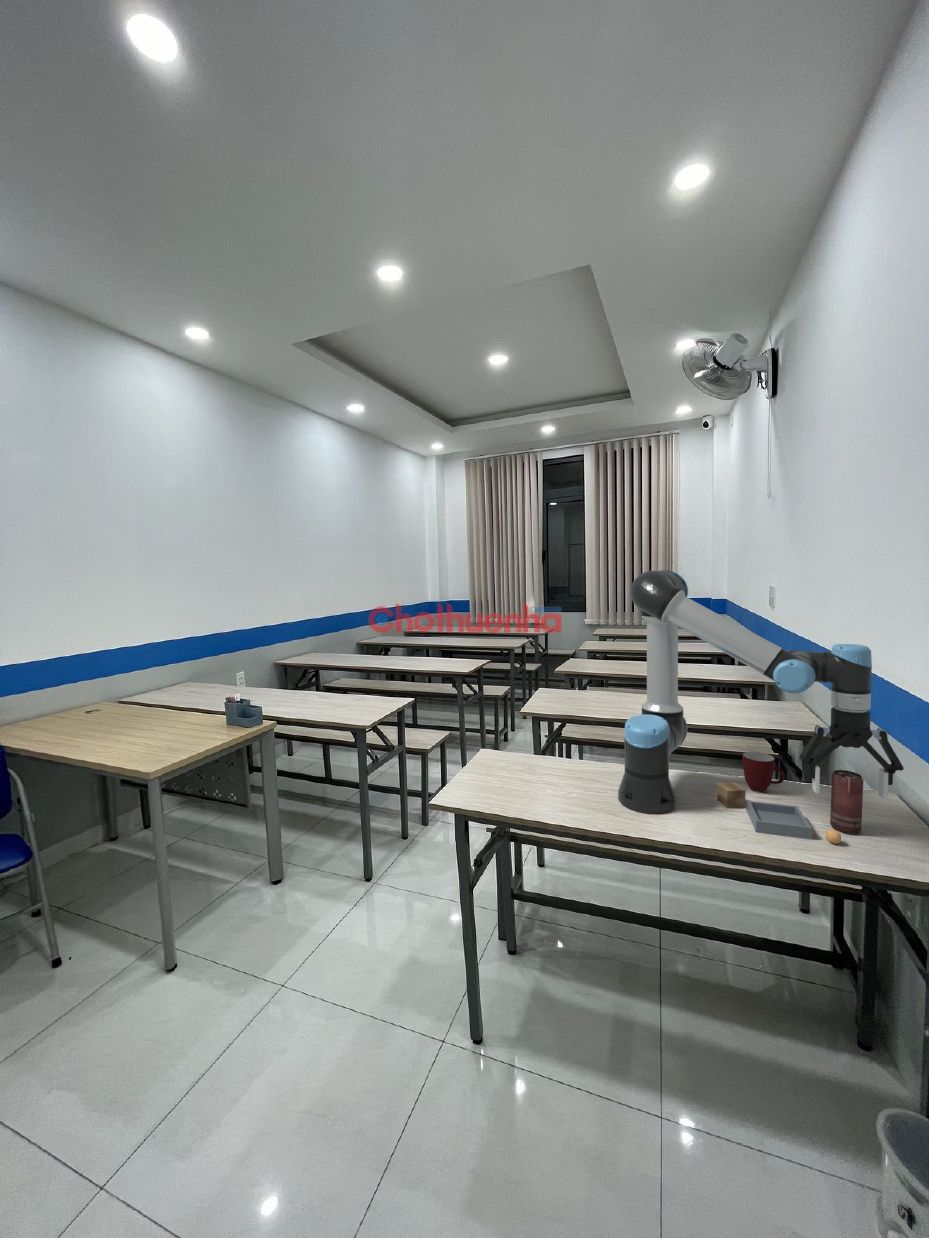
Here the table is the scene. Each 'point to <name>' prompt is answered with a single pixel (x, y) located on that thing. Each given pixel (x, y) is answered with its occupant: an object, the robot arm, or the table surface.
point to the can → (846, 802)
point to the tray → (778, 819)
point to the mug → (760, 770)
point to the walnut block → (731, 795)
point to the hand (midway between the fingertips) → (848, 794)
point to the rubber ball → (833, 836)
